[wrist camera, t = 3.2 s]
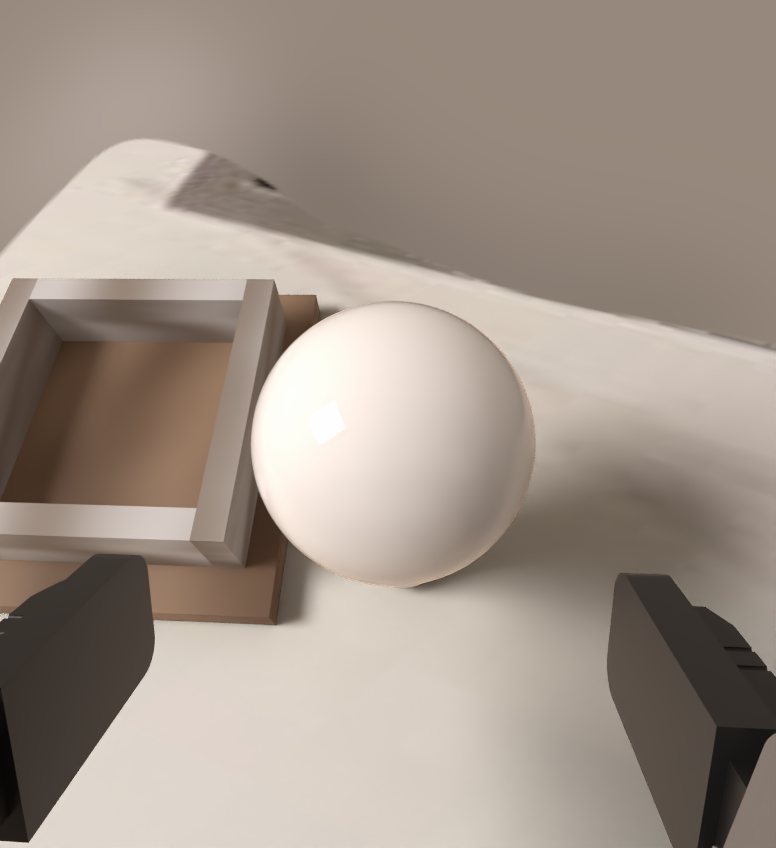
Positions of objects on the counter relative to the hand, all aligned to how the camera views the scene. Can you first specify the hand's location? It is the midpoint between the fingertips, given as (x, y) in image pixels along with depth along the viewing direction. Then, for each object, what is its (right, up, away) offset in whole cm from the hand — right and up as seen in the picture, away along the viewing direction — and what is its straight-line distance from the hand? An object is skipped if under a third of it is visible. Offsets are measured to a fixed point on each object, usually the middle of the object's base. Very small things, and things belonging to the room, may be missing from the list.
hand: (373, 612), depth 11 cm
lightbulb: (+1, -1, +11) cm, 11 cm away
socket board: (-9, +3, +13) cm, 16 cm away
